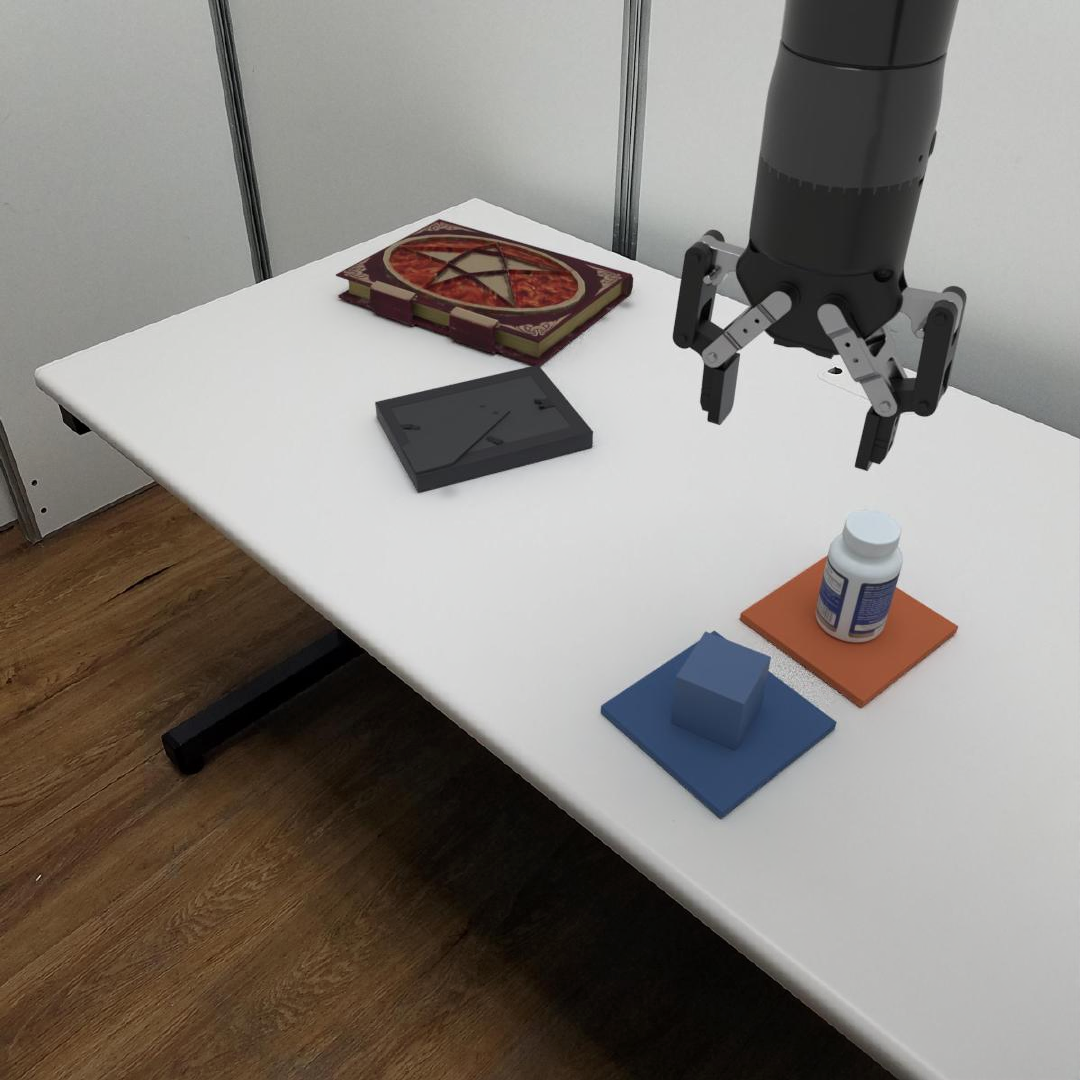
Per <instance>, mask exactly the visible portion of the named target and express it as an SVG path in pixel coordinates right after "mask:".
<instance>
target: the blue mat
mask: <svg viewBox="0 0 1080 1080" xmlns="http://www.w3.org/2000/svg"><path fill="white" fill-rule="evenodd" d="M710 633H711V634H714V635H716V636H719V637H721V638H724V639H726V640H728V639H727V638H725V637H724V636H723V635H721V634H720V633H719V632H717V631H716V630H712V631H711V632H710ZM698 642H699V640H698V641H696V642H694V643H693V644H692V645H690V646H689V647H687V648H685V649H684V650H682V651H681V652H680V653H678V654H676V655H675V656H674V657H672V658H671V659H669V660H668V661H666V662H665V663H662V665H660V666H658V667H656V669H654V670H652V671H651V672H649V673H648V674H646V675H644V677H642V678H640V679H639V680H637V681H636V682H635V683H633V684H631V685H630V686H627V688H625V689H623V690H622V691H621V692H620V693H618V694H616V695H615V696H613V697H612V698H610V699H609V700H607V701H606V702H604V703H603V704H601V705H600V714H601V715H602V716H604V717H605V718H606V719H607V720H608V721H609V722H610V723H611V724H613V725H614V726H615V727H616V728H617V729H619V731H621V732H622V733H623V734H624V735H625V736H626V737H627V738H629V739H630V741H631V742H633V743H634V744H635V745H636V746H638V748H640V749H641V750H642V751H643V752H644V753H645V754H646V755H648V756H649V757H650V759H652V760H653V761H654V762H655V763H657V764H658V765H659V766H660V767H661V768H662V769H663V770H664V771H665V772H667V773H668V774H669V775H670V776H671V777H673V778H674V780H676V781H677V782H678V783H679V785H682V786H683V788H685V789H686V790H687V791H688V792H689V793H690V794H692V795H693V796H694V797H695V798H696V800H698V801H699V802H700V803H702V804H703V805H704V806H705V807H706V808H707V809H708V810H710V811H711V812H712V813H713V814H715V816H716V817H718V818H719V819H720V820H721V819H723V818H724V817H726V816H727V815H728V814H729V813H731V812H732V811H733V810H734V809H735V808H737V807H738V806H739V805H741V804H742V803H743V802H744V801H746V800H747V799H748V798H749V797H751V796H752V795H753V794H754V793H756V792H757V791H759V790H760V789H761V788H763V786H764V785H766V784H767V783H768V782H770V781H771V780H772V779H774V778H775V777H776V776H777V775H778V774H780V773H781V772H782V771H784V770H785V769H786V768H788V767H789V766H790V765H791V764H792V763H793V762H795V761H796V760H798V759H799V758H800V757H801V756H803V755H804V754H805V753H807V751H809V750H810V749H811V748H813V747H814V746H815V745H816V744H818V743H820V741H822V740H823V739H824V738H825V737H827V736H828V735H829V734H831V733H832V732H833V731H834V730H835V729H836V726H837V724H838V723H837V721H836V720H834V719H833V718H832V717H831V716H830V715H828V714H826V713H825V712H824V711H823V710H822V709H820V708H819V707H817V706H816V705H814V704H813V703H812V702H811V701H810V700H808V699H807V698H805V697H804V696H802V694H800V693H798V692H797V691H796V690H795V689H793V688H792V687H791V686H789V685H788V684H786V683H785V682H784V681H783V680H781V679H780V678H779V677H778V676H777V675H774V674H773V673H772V672H771V671H769V670H768V675H767V681H766V686H765V691H764V696H763V701H762V704H761V706H760V708H759V710H758V712H757V713H756V715H755V717H754V719H753V721H752V722H751V724H750V726H749V728H748V730H747V731H746V733H745V735H744V737H743V739H742V740H741V742H740V744H739V746H738V748H737V749H736V751H735V750H732V749H730V748H728V747H725V746H723V745H721V744H719V743H716V742H714V741H712V740H709V739H707V738H705V737H702V736H700V735H698V734H695V733H693V732H691V731H688V730H686V729H684V728H681V727H679V726H677V725H674V724H672V723H671V718H672V709H673V700H674V692H675V683H676V676H677V674H678V673H679V671H680V670H681V668H682V667H683V665H684V664H685V662H686V660H687V659H688V657H689V656H690V654H691V653H692V651H693V650H694V648H695V647H696V645H697V644H698Z"/></svg>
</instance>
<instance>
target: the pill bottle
mask: <svg viewBox="0 0 1080 1080" xmlns="http://www.w3.org/2000/svg"><path fill="white" fill-rule="evenodd" d="M901 535H902V528H901V525H900V523H899V522H898V521H897V520H896V518H894V517H893V516H891V515H890V514H888V513H886V512H884V511H880V510H876V509H860V510H856V511H853V512H851V514H849V515H848V516H847V518H846V519H845V522H844V526H843V528H842V532H841V533H840V534H838V535H837V536H836V537H834V539H833V540H832V542H831V543H830V545H829V549H828V551H827V555H828V556H827V555H826V556H827V560H826V565H825V569H824V574H823V578H822V583H821V587H820V592H819V596H818V601H817V607H816V619H817V621H818V623H819V625H820V626H821V627H822V628H823V629H824V631H826V632H827V633H828V634H830V635H831V636H833V637H835V638H838V639H840V640H843V641H847V642H866V641H869V640H872V639H874V638H876V637H877V636H878V635H879V634H880V633H881V632H882V630H883V628H884V626H885V623H886V620H887V616H888V612H889V609H890V605H891V602H892V599H893V595H894V592H895V588H896V587H897V584H898V581H899V578H900V574H901V571H902V567H903V562H904V558H903V553H902V551H901V549H900V547H899V544H900V539H901Z"/></svg>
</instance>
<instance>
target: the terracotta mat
mask: <svg viewBox="0 0 1080 1080" xmlns="http://www.w3.org/2000/svg"><path fill="white" fill-rule="evenodd" d="M827 556H828V554H826V555H825V556H824V557H822V558H821V559H820V560H818V561H817V562H815V563H814V564H812V565H810V566H809V567H807V568H806V569H804V570H803V571H802V572H800V573H798V574H797V575H796V576H794V577H793V578H791V579H789V580H788V581H786V582H785V583H784V584H782V585H780V586H779V587H777V588H776V589H774V590H773V591H771V592H770V593H768V594H767V595H766V596H764V597H762V598H761V599H760V600H759V599H758V601H756V602H755V603H753V604H752V605H750V606H749V607H747V608H745V609H744V610H743V611H741V612H740V616H739V620H740V621H741V622H742V623H744V624H745V625H747V626H748V627H749V628H750V629H752V630H753V631H755V632H756V633H758V634H759V635H760V636H761V637H763V638H764V639H765V640H767V641H768V642H770V643H771V644H773V645H774V646H775V647H776V648H778V649H779V650H781V651H782V652H784V653H785V654H787V656H788V657H790V658H792V660H794V661H796V663H799V665H801V666H803V667H804V668H806V669H807V670H808V671H810V672H811V673H812V674H814V675H815V676H816V677H818V678H819V679H820V680H822V681H823V682H824V683H826V684H828V685H829V686H830V687H832V689H834V690H836V692H839V693H840V694H841V695H843V696H844V697H845V698H846V699H848V700H849V701H850V702H852V703H854V705H856V706H857V707H859V708H860V709H862V708H863V707H865V706H866V705H867V704H869V703H870V702H871V701H872V700H873V699H874V698H876V697H877V696H879V695H880V694H881V693H882V692H884V691H885V690H886V689H887V688H889V687H890V686H891V685H892V684H894V683H895V682H897V680H899V679H900V678H901V677H903V676H904V675H905V674H906V673H908V672H909V671H910V670H911V669H913V668H914V667H916V665H918V664H920V662H922V661H923V660H924V659H925V658H926V657H928V656H929V655H930V654H932V653H933V652H934V651H936V650H937V649H938V648H939V647H941V646H942V645H943V644H945V643H946V642H947V641H948V640H949V639H951V638H952V637H953V636H954V635H955V634H957V632H958V629H959V626H958V625H957V624H955V622H953V621H951V620H949V619H948V618H946V617H945V616H943V615H942V614H941V613H938V612H936V611H935V610H933V609H932V608H930V607H929V606H927V605H925V604H924V603H922V602H921V601H919V600H918V599H916V598H915V597H913V596H911V595H910V594H908V593H906V592H905V591H903V590H902V589H901V588H899V587H897V586H896V588H895V592H894V595H893V599H892V602H891V605H890V609H889V612H888V616H887V620H886V623H885V626H884V628H883V630H882V632H881V633H880V634H879V635H878V636H877V637H876V638H874V639H872V640H869V641H866V642H847V641H843V640H840V639H838V638H835V637H833V636H831V635H830V634H828V633H827V632H826V631H824V629H823V628H822V627H821V626H820V625H819V623H818V621H817V619H816V607H817V601H818V596H819V592H820V587H821V583H822V578H823V574H824V569H825V565H826V560H827Z"/></svg>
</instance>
